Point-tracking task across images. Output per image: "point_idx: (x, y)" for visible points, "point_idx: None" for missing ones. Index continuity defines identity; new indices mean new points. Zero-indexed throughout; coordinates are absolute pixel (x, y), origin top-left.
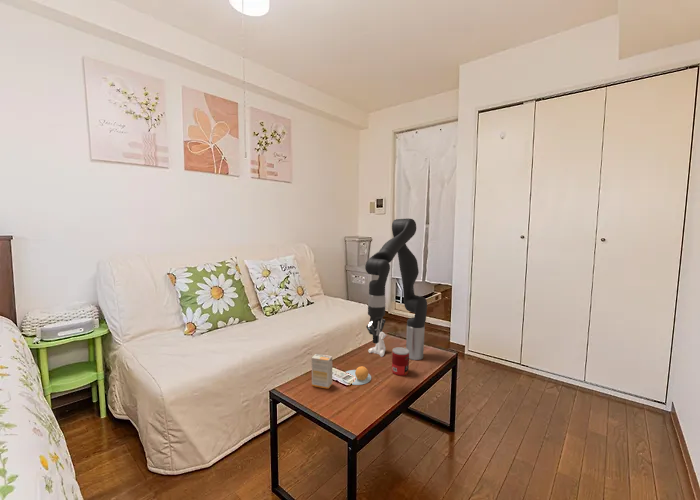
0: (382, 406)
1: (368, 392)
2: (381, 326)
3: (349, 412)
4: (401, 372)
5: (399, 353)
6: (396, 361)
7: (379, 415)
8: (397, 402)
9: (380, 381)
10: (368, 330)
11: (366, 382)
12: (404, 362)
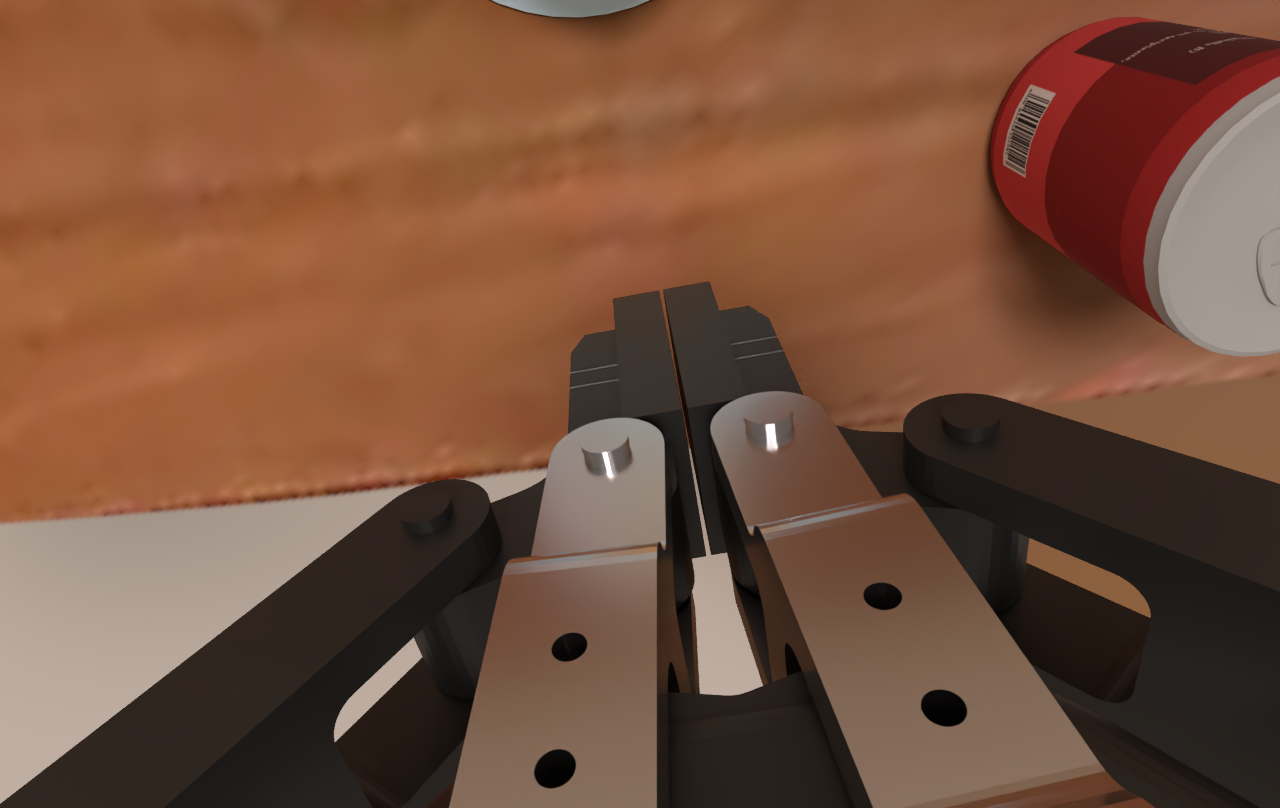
0: (377, 428)
1: (428, 186)
2: (1100, 713)
3: (36, 307)
4: (1018, 217)
5: (1159, 287)
6: (1077, 196)
7: (269, 486)
8: (531, 467)
9: (723, 112)
10: (155, 712)
11: (562, 9)
12: (1110, 287)
